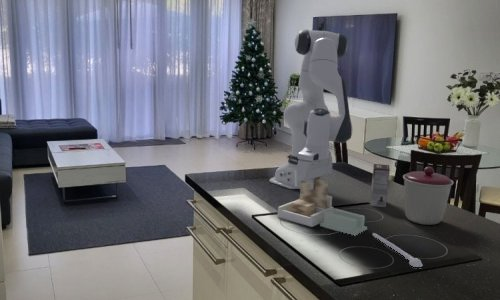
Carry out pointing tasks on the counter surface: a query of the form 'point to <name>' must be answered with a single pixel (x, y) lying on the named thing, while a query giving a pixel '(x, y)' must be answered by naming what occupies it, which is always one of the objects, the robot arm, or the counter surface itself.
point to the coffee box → (379, 185)
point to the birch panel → (315, 192)
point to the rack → (311, 221)
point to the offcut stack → (303, 208)
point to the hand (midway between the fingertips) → (313, 188)
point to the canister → (426, 196)
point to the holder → (344, 222)
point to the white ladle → (412, 261)
